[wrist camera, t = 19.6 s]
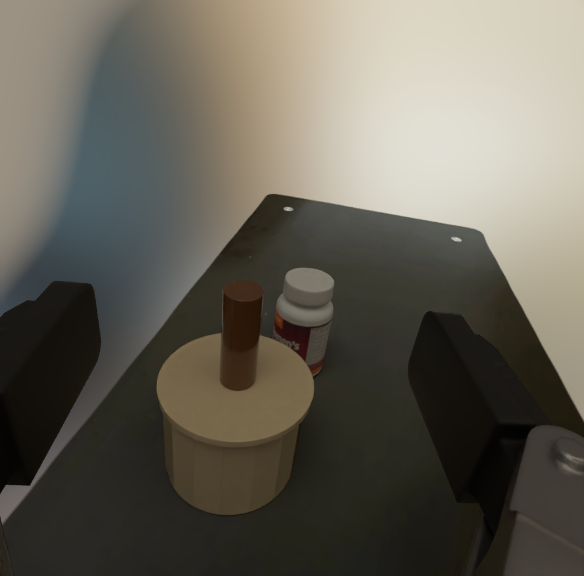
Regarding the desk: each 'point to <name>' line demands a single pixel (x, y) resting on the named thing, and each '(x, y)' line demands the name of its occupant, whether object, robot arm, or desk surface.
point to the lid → (236, 379)
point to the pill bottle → (305, 315)
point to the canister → (228, 471)
